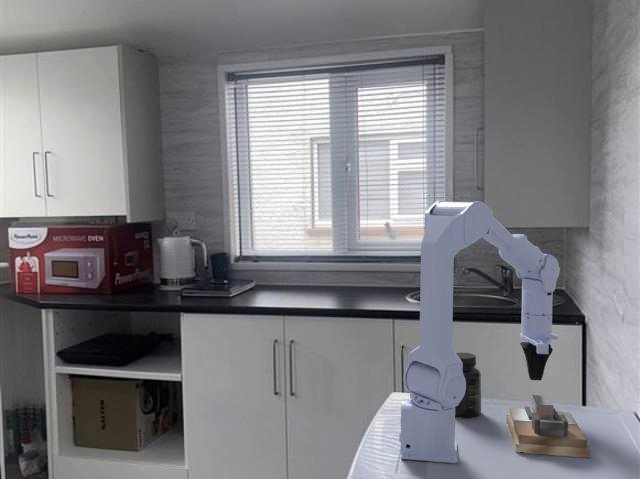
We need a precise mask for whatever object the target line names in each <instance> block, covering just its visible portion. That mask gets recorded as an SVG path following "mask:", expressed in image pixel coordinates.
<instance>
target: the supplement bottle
mask: <svg viewBox="0 0 640 479" xmlns="http://www.w3.org/2000/svg"><path fill="white" fill-rule="evenodd" d="M455 353H456V354H457V355H458V357H459V358H460V360H461V361H462V363H463V375H464V377H465V380H466V391H465V395H464V397H463V399H462V400H461V402H460V403H459V405H458V406H456V407H455V416H456V417H455V418H459V417H461V418H460V419H472V418H473V417H474V418H477V417H479V416H480V415H481V413H482V372H481V371H480V369H478V367H476V366H477V356H476V355H475V354H473V353H469V352H455ZM474 418H473V419H474Z"/></svg>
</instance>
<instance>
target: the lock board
mask: <svg viewBox="0 0 640 479" xmlns="http://www.w3.org/2000/svg"><path fill="white" fill-rule="evenodd" d="M506 424H508V425H507V427H508V428H509V429H508V428H507V429H508V431H510V432H509V435H510V434H511V435H510V439H511V441H513V442H512V444H514V445H513V447H515V448H514V451H515V450H516V451H517V452H516V451H515V452H516V453H520V452H524V454H533V455H534V454H536V455H537V454H538V455H547V456H557V457H558V456H559V457H560V456H561V457H573V458H584V459H585V458H587V459H591V448H590V446H589V444H588V438H587V437H586V436H585V434H584V433H583V431H582V430H581V428H580V426H579V425H578V422H577V421H576V419H575V417H573V414H572V413H571V412H570V411H562V410H561V411H558V410H556V408H555V407H554V411H553V420H542V419H539V417H538V415H537V413H533V411H532V409H531V407H530V406H526V405H525V406H524V408H517V407H515V408H511V407H509V414H507V415H506Z"/></svg>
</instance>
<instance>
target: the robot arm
mask: <svg viewBox="0 0 640 479" xmlns="http://www.w3.org/2000/svg"><path fill="white" fill-rule="evenodd" d="M481 239H484V240H485V241H486V242H488V243H489V244H491V245H493V247H496V248H497V249H498V255H499V256H500V258H501V259H502V260H503V261H504V262H505V263H507V264H508V265H510V266H511V267H512V268H513V269H514V271H515V275H516V277H517V278H518V279H519V280H521V327H520V328H521V329H520V330H521V331H520V334H519V337H520V339H522V340H523V341H521V342H519V344H520V346H521V349H522V351H523V353H524V357H525V362H526V368H527V373H528V376H529V377H528V378H529V379H530V381H542V379H543V377H544V373H545V370H546V369H545V368H546V366H547V365H546V364H547V361H548V360H549V358H550V356H551V355H552V353H553V351H554V350H553V347H552V346H551V342H552V341H554V340H555V341H556V340H558V339H559V336H558V334H557V333H553V332H552V331H553V298H554V296H553V295H554V294H553V293H554V292H555V290H556V286H557V280H558V278H559V275H560V272H561V267H559V266H560V265H559V261H558V260H557V258H556V257H555V256H553V254H550V253H548V254H547V253H544V252H543V251H542V250H540V247H539V246H537V245H534V244H533V243H532V242H531V241H529V240H528V236H527V235H526V234H523V233H513V234H512V233H511V232H510V231H508V229H507V228H506V227H505V226H504V225H503V224H502V223H500V221H498V220H497V218H496V217H494V210H493V209H492V208H491V207H489V206H488V205H487V204H486V203H485V202H483V201H479V200H478V201H477V200H475V201H446V200H445V201H444V200H438V201H436V202H434V203H433V204H432V205H431V206H430V207H429V208H428V209H427V210H426V211H425V212H424V234H423V237H422V241H421V245H420V288H419V289H420V292H419V293H420V294H419V295H420V296H419V297H420V300H419V345H418V346H417V347H416V348H414V349H413V350H411V351H409V353H408V354H407V362H406V367H405V369H404V372H403V379H402V380H403V385H404V388H405V390H407V391H408V392H409V398H410V399H402V400H401V404H400V406H401V407H400V430H399V437H398V438H399V443H400V459H402V460H413V461H425V462H436V463H447V464H458V462H459V458H458V457H459V456H458V445H457V444H458V443H457V441H456V417H455V407H456V406H458V405H459V403H460V402H461V400H462V399H463V397H464V395H465V391H466V380H465V377H464V375H463V363H462V361H461V360H460V358H459V357H458V355H457V354H456V353H457V352H456V351H455V350H454V349H453V316H454V312H453V311H454V273H455V272H454V264H455V262H454V261H455V260H454V259H455V257H456V255H458V254H459V253H460V252H461V250H464V249H466V248H467V247H470V245H472V244H474V243H475V242H477V241H478V240H481Z"/></svg>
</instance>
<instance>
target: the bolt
mask: <svg viewBox="0 0 640 479" xmlns="http://www.w3.org/2000/svg"><path fill="white" fill-rule="evenodd" d="M554 408H555V406H554V404H553V402H552V400H551V398H550V396H549V395H539V394H532V395H531V407H530V409H531V410H532V411H533V413H537V415H538V417H539V419H542V420H553V411H554Z"/></svg>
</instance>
